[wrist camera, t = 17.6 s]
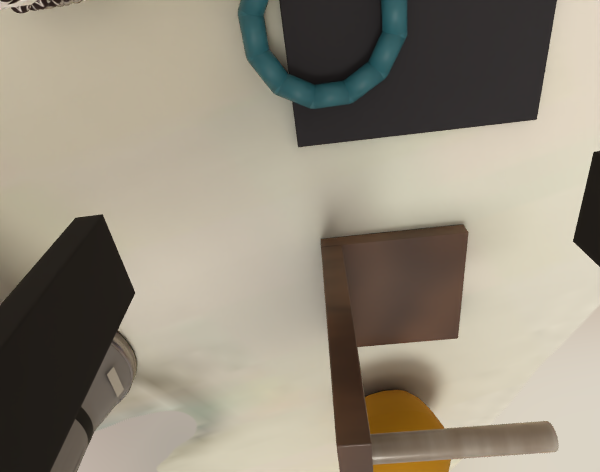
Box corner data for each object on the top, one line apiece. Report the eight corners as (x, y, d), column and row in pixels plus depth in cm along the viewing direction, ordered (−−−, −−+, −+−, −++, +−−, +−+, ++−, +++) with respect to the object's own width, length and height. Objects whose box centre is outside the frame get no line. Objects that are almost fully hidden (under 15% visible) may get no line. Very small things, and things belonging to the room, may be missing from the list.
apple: (315, 400, 57) (318, 490, 47) (396, 352, 52) (419, 441, 42) (375, 443, 62) (390, 533, 52) (455, 403, 57) (486, 493, 47)
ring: (405, 92, 35) (258, 113, 36) (403, -92, 29) (225, -62, 30) (410, 98, 34) (256, 119, 34) (409, -95, 27) (221, -63, 28)
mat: (298, 144, 38) (298, 147, 38) (265, -117, 29) (264, -119, 28) (532, 116, 37) (537, 119, 36) (578, -165, 28) (585, -168, 27)
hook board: (331, 339, 51) (350, 558, 32) (320, 238, 43) (336, 446, 25) (462, 328, 50) (560, 546, 31) (473, 223, 43) (610, 426, 24)
